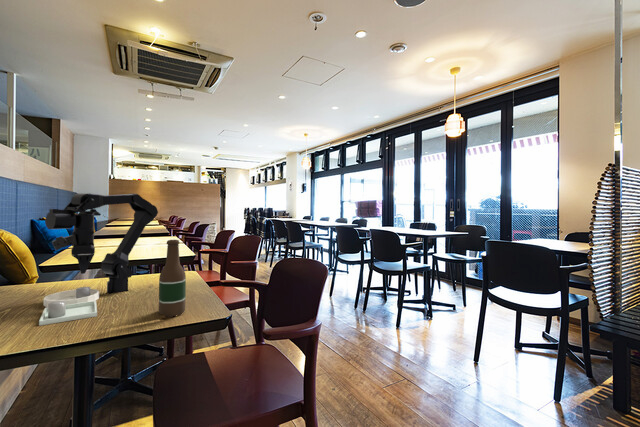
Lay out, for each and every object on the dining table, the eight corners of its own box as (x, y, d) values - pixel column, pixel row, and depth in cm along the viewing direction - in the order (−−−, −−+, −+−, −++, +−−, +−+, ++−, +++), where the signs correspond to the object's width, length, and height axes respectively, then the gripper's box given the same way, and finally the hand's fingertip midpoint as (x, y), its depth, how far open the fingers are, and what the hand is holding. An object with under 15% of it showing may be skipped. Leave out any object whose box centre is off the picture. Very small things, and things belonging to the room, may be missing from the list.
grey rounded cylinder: (90, 297, 111) (90, 286, 111) (90, 299, 108) (90, 288, 108) (76, 298, 108) (76, 287, 108) (75, 301, 105) (75, 290, 105)
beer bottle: (158, 319, 92) (159, 241, 92) (158, 311, 99) (159, 239, 99) (186, 315, 96) (187, 240, 95) (184, 308, 102) (185, 238, 102)
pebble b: (65, 312, 94) (65, 300, 94) (65, 316, 91) (65, 303, 91) (48, 315, 91) (48, 302, 91) (47, 319, 88) (47, 305, 88)
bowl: (98, 294, 117) (98, 287, 117) (99, 304, 105) (99, 296, 105) (46, 301, 107) (46, 292, 107) (41, 313, 96) (41, 303, 96)
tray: (96, 306, 103) (96, 300, 103) (97, 318, 92) (97, 312, 92) (44, 314, 95) (44, 307, 95) (39, 328, 84) (39, 321, 84)
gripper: (56, 227, 110) (55, 269, 110) (51, 230, 95) (50, 278, 95) (94, 226, 117) (93, 266, 117) (95, 229, 102) (94, 275, 102)
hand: (83, 271), depth 108 cm, fingers open, 9 cm apart
